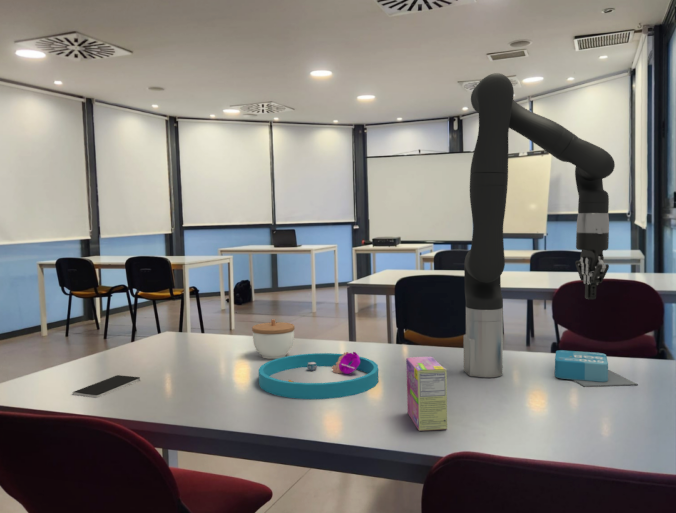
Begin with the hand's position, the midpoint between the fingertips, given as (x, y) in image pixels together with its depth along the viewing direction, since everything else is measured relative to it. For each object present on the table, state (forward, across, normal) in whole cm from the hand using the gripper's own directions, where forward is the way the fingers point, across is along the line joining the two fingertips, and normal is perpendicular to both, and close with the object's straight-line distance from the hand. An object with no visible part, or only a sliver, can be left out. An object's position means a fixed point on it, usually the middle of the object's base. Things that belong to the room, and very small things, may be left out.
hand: (590, 298), depth 142 cm
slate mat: (+19, +5, -1) cm, 20 cm away
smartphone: (+22, +1, -122) cm, 124 cm away
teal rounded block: (+17, -3, -1) cm, 17 cm away
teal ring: (+21, 0, -70) cm, 73 cm away
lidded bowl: (+21, -27, -83) cm, 89 cm away
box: (+20, +31, -49) cm, 61 cm away
